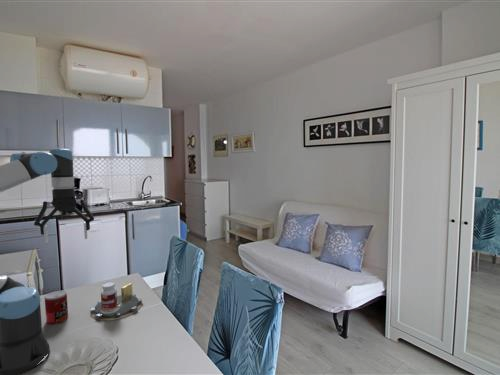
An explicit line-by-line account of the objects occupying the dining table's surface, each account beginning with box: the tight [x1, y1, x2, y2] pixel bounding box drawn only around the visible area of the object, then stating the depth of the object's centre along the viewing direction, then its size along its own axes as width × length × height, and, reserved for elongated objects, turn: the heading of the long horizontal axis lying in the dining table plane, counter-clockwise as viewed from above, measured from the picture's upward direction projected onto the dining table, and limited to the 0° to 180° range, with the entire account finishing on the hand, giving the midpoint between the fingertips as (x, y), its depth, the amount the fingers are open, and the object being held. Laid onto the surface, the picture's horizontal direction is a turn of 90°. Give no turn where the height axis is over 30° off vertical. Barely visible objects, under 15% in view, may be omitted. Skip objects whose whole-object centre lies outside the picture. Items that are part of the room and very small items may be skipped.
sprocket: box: [90, 282, 143, 319], centre depth 130 cm, size 21×21×8 cm
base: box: [90, 302, 143, 321], centre depth 131 cm, size 21×21×1 cm
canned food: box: [44, 290, 69, 325], centre depth 121 cm, size 8×8×11 cm
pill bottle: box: [100, 282, 118, 312], centre depth 125 cm, size 6×6×11 cm
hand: (66, 240), depth 116 cm, fingers open, 13 cm apart
